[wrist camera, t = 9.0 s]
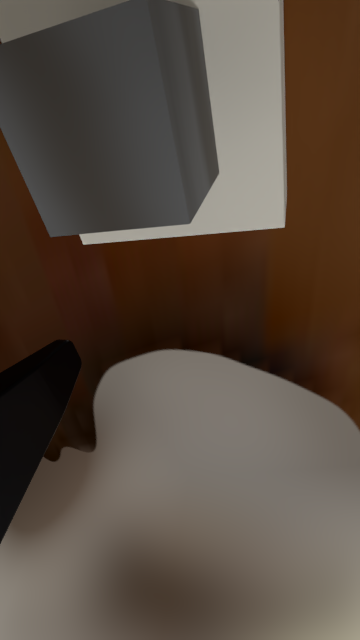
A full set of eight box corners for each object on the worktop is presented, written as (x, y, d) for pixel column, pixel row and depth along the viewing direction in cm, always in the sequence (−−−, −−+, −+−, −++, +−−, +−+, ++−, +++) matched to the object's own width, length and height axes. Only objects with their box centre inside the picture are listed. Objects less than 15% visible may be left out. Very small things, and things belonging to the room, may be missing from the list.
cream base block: (281, -102, 11) (275, -150, 9) (287, 194, 17) (284, 227, 14) (41, -8, 15) (-24, -19, 12) (114, 214, 21) (83, 244, 18)
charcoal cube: (198, 8, 11) (146, -6, 7) (219, 173, 14) (190, 223, 10) (66, 49, 12) (-33, 54, 9) (110, 188, 15) (50, 237, 12)
